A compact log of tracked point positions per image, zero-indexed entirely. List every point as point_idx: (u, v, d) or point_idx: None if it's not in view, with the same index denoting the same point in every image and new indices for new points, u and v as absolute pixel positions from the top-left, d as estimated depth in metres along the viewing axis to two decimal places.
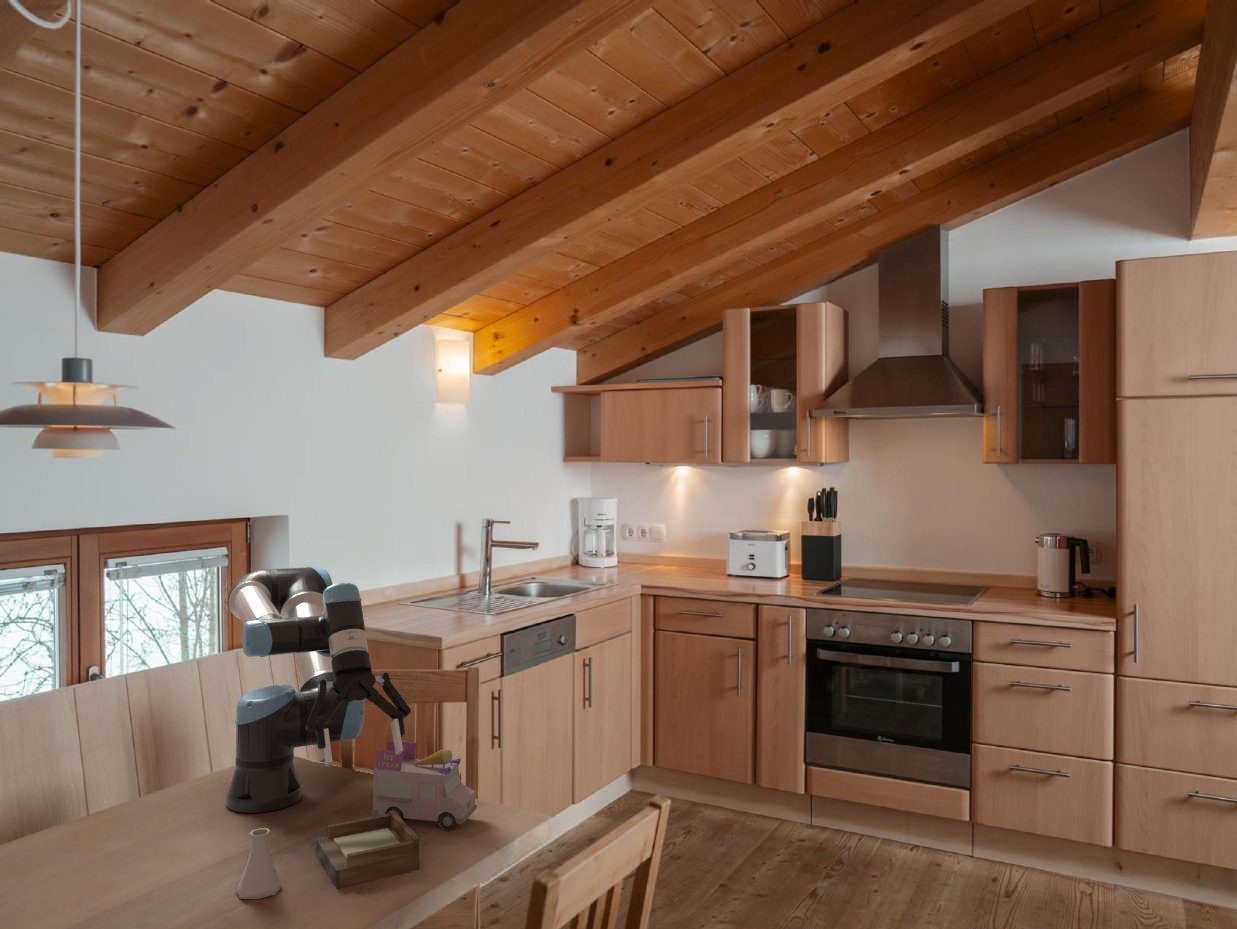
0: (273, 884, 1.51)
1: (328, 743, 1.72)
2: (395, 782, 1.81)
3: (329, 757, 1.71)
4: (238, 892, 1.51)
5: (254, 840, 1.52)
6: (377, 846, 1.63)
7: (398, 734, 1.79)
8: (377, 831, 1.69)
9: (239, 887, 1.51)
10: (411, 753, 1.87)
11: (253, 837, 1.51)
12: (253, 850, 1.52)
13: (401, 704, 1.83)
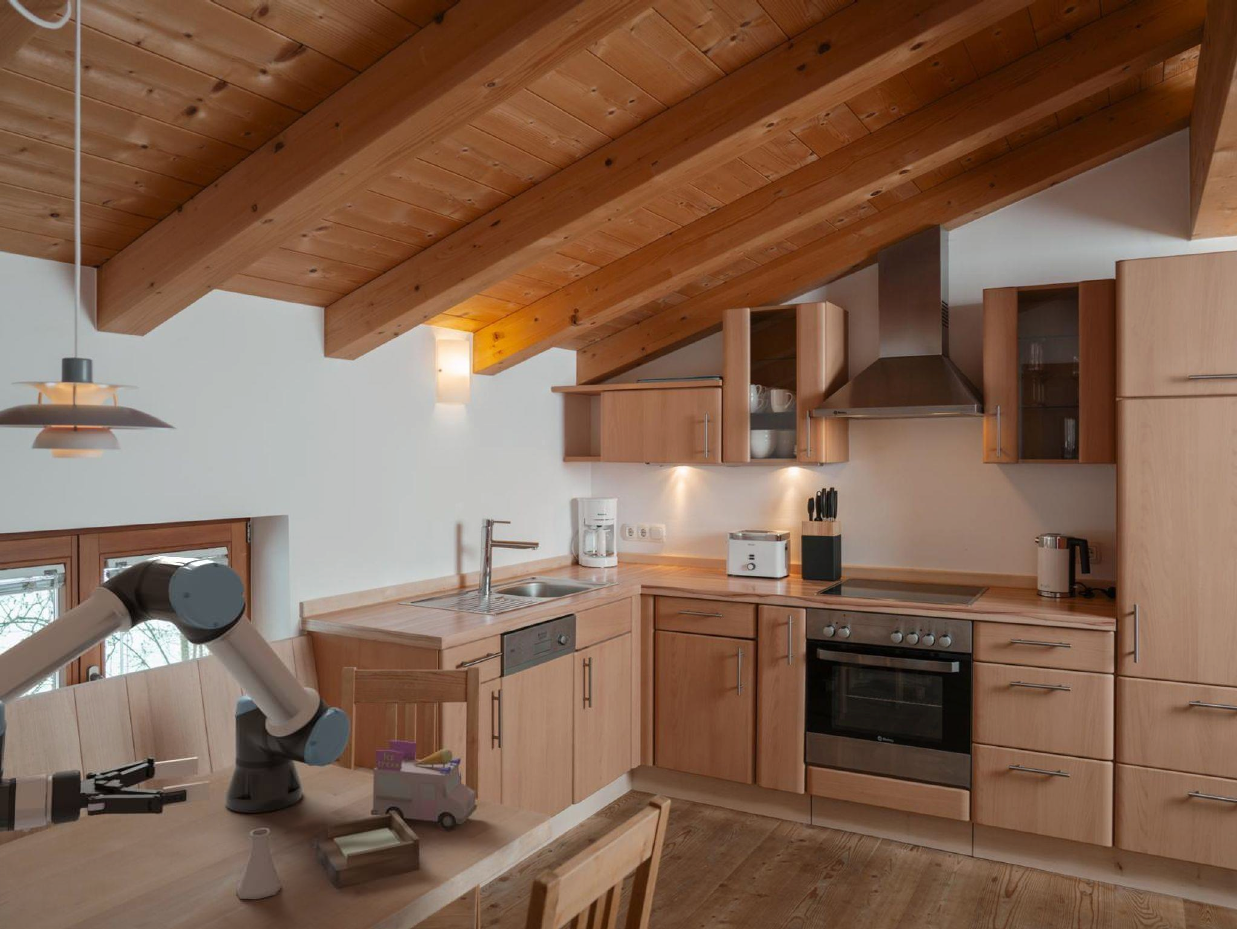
0: (273, 884, 1.51)
1: None
2: (395, 782, 1.81)
3: None
4: (238, 892, 1.51)
5: (254, 840, 1.52)
6: (377, 846, 1.63)
7: None
8: (377, 831, 1.69)
9: (239, 887, 1.51)
10: (411, 753, 1.87)
11: (253, 837, 1.51)
12: (253, 850, 1.52)
13: None
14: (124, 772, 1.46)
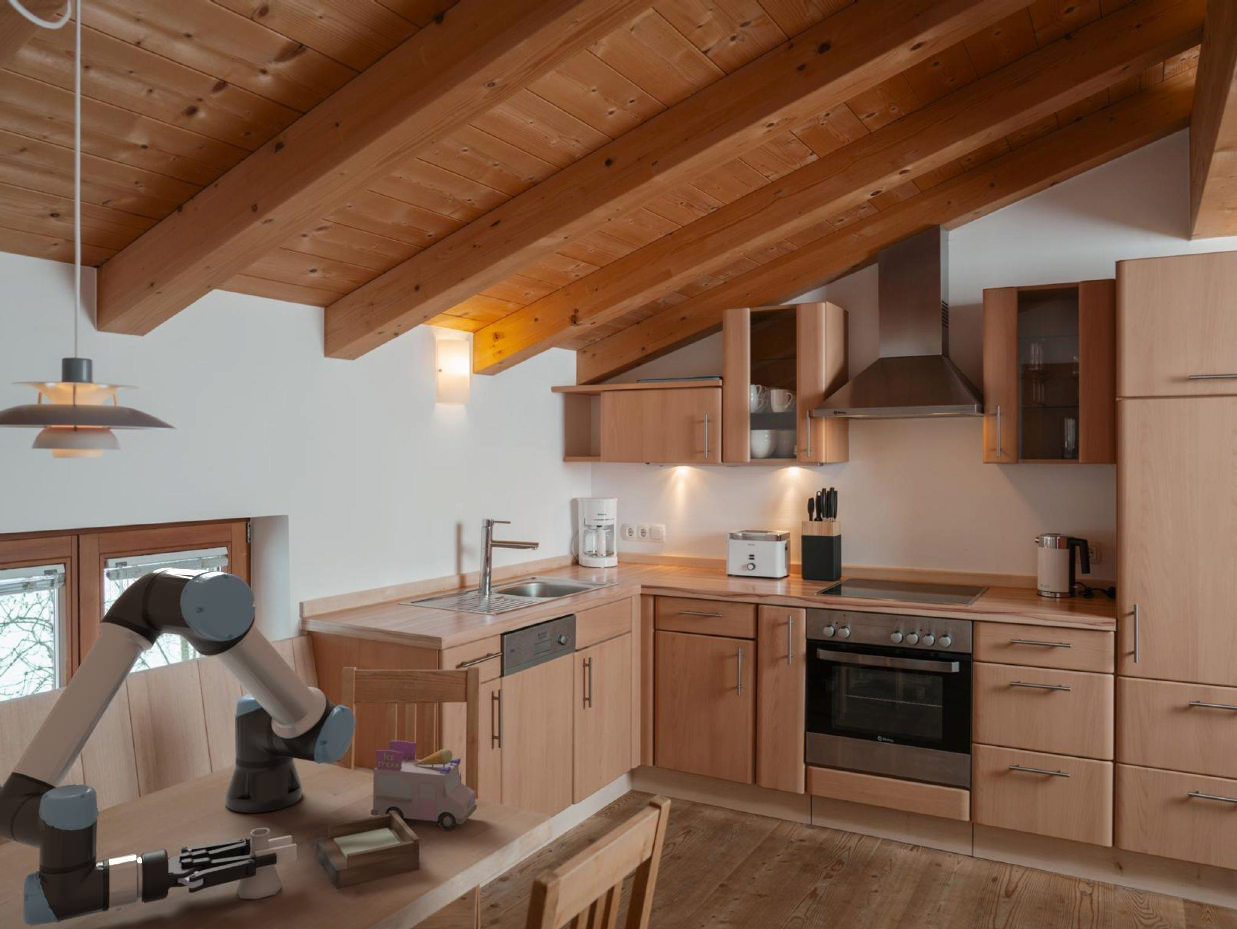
0: (273, 883, 1.51)
1: None
2: (395, 782, 1.81)
3: None
4: (238, 892, 1.51)
5: (254, 840, 1.52)
6: (377, 846, 1.63)
7: None
8: (377, 831, 1.69)
9: (239, 887, 1.51)
10: (411, 753, 1.87)
11: (253, 837, 1.51)
12: (253, 850, 1.52)
13: None
14: (214, 851, 1.51)
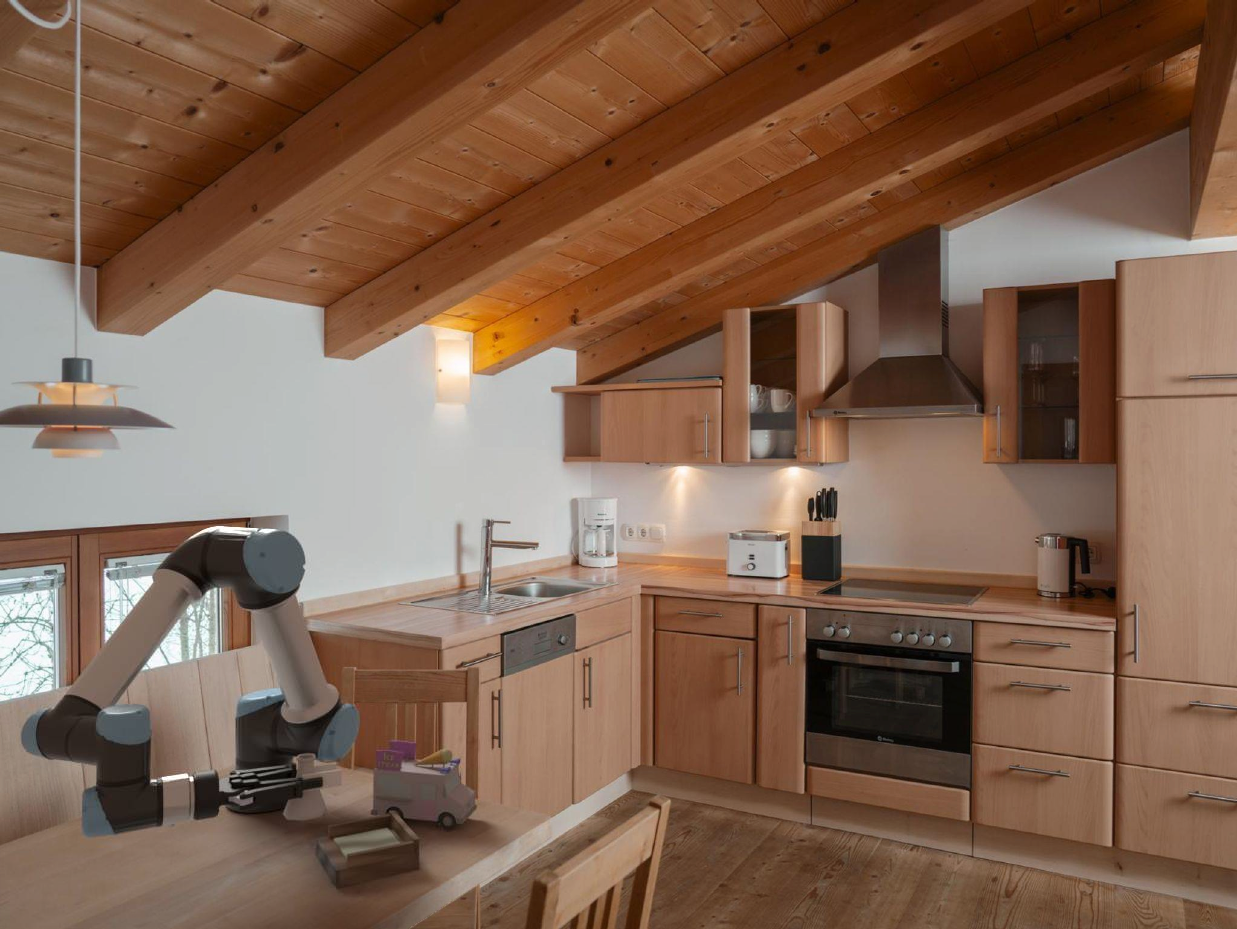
0: (319, 806, 1.55)
1: None
2: (395, 782, 1.81)
3: None
4: (285, 814, 1.54)
5: (300, 764, 1.55)
6: (377, 846, 1.63)
7: None
8: (377, 831, 1.69)
9: (286, 809, 1.55)
10: (411, 753, 1.87)
11: (299, 761, 1.55)
12: (299, 773, 1.55)
13: None
14: (262, 774, 1.55)
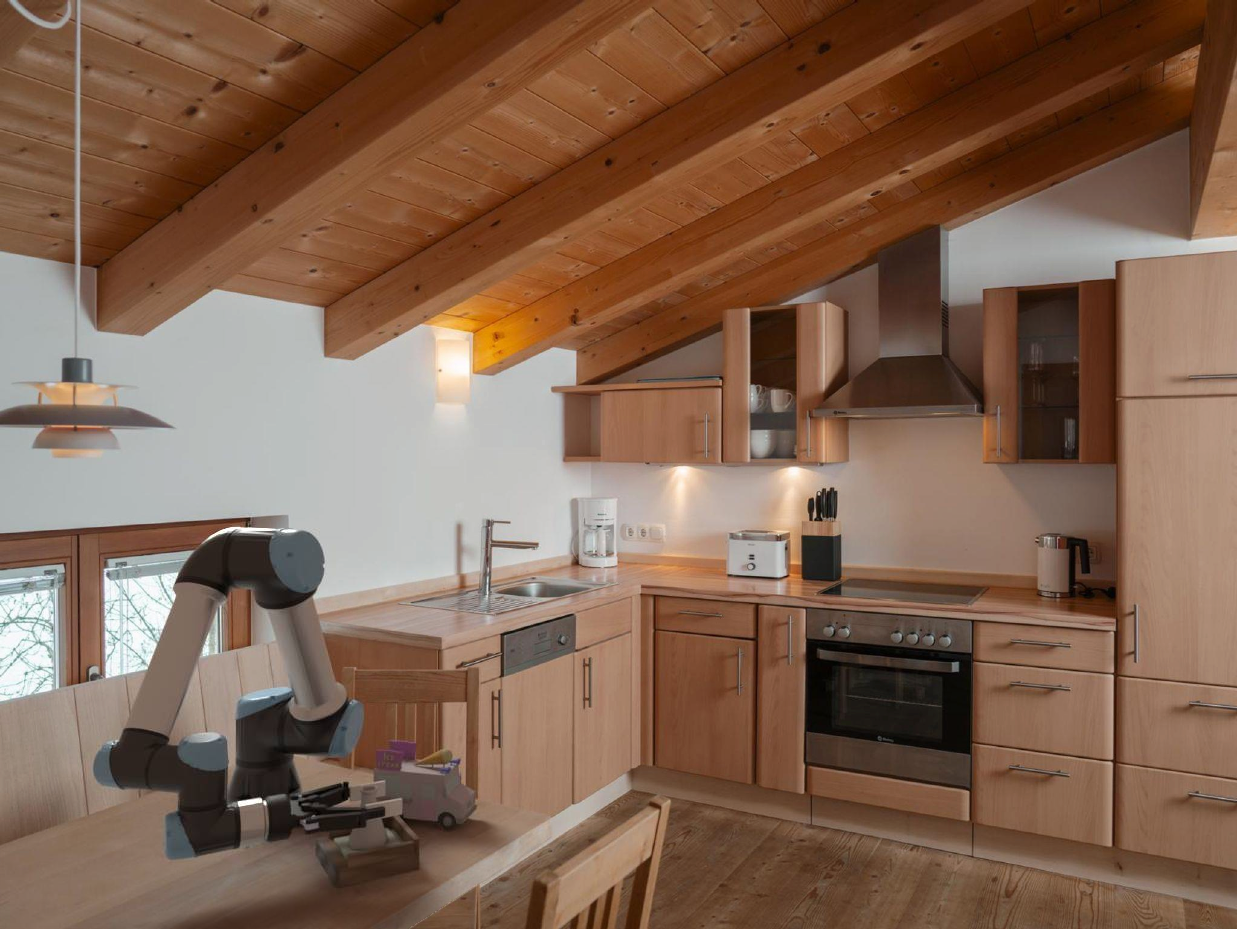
0: (381, 836, 1.63)
1: None
2: (395, 782, 1.81)
3: None
4: (350, 843, 1.62)
5: (364, 795, 1.63)
6: None
7: None
8: None
9: (350, 839, 1.63)
10: (411, 753, 1.87)
11: (363, 793, 1.63)
12: (363, 805, 1.63)
13: None
14: (323, 795, 1.64)
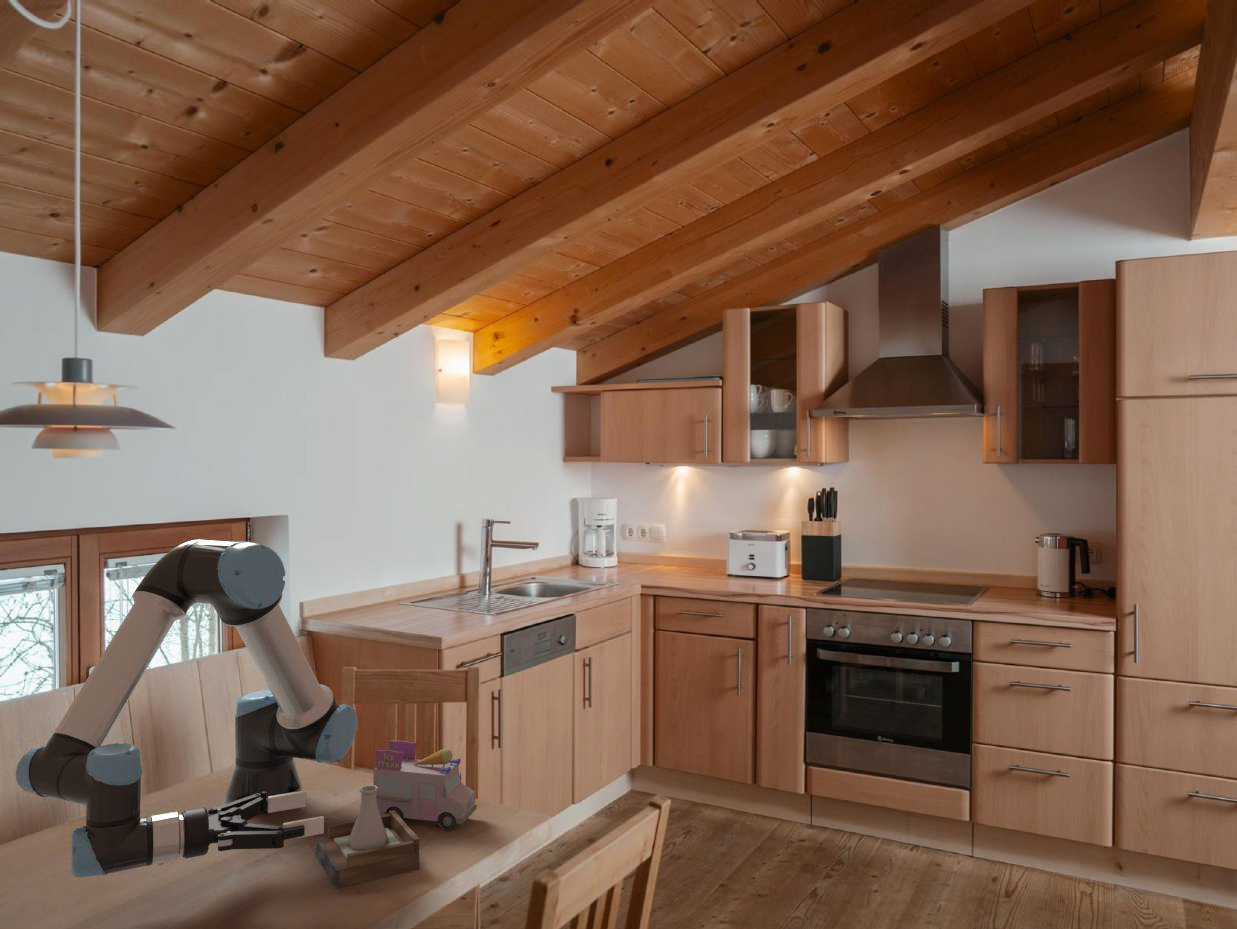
0: (381, 836, 1.63)
1: None
2: (395, 782, 1.81)
3: None
4: (350, 843, 1.62)
5: (364, 795, 1.63)
6: None
7: None
8: None
9: (350, 839, 1.63)
10: (411, 753, 1.87)
11: (363, 793, 1.63)
12: (363, 805, 1.63)
13: None
14: (242, 807, 1.57)
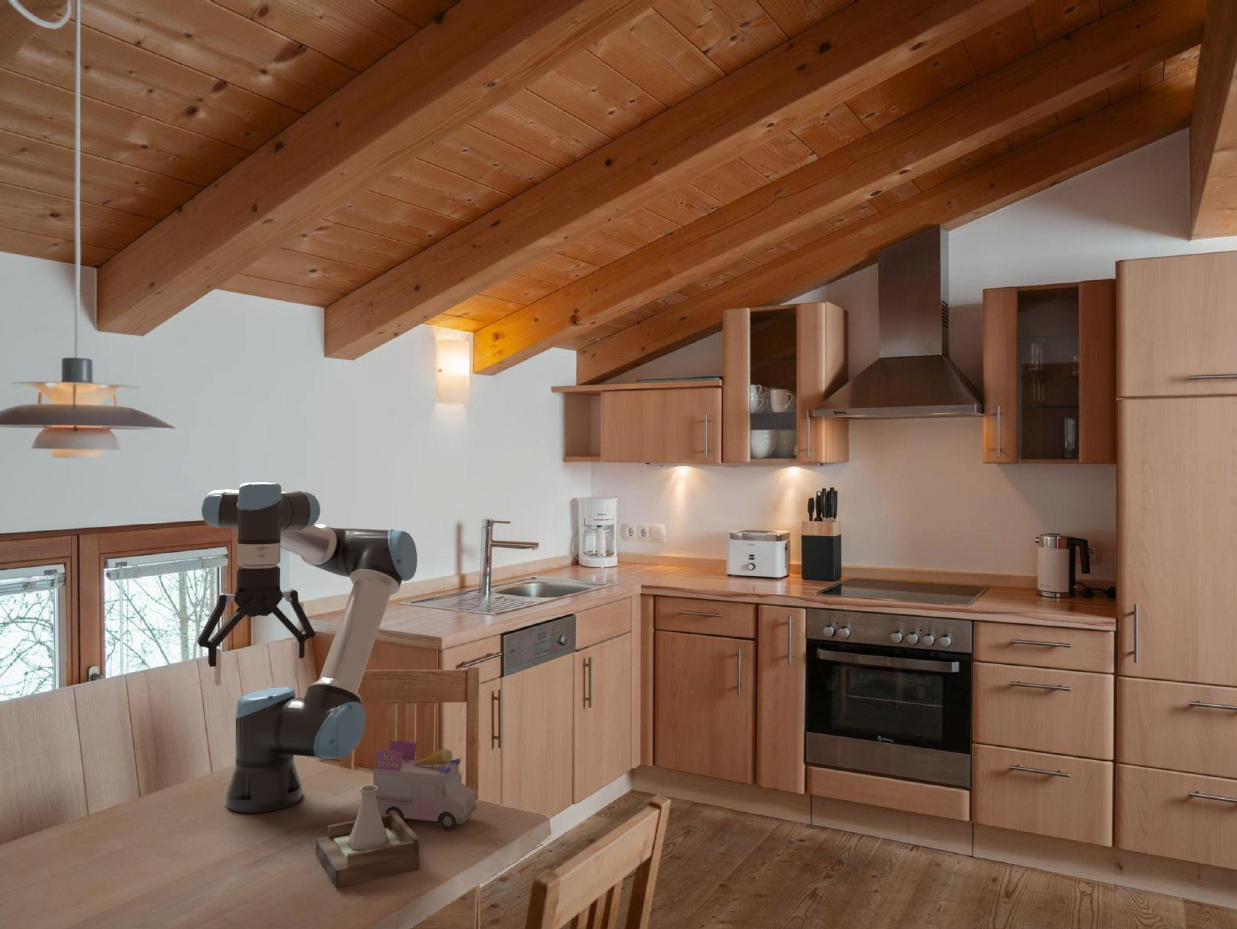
0: (381, 836, 1.63)
1: (219, 665, 1.64)
2: (395, 782, 1.81)
3: (218, 680, 1.64)
4: (350, 843, 1.62)
5: (364, 795, 1.63)
6: None
7: (296, 660, 1.71)
8: None
9: (350, 839, 1.63)
10: (411, 753, 1.87)
11: (363, 793, 1.63)
12: (363, 805, 1.63)
13: (306, 627, 1.72)
14: None
